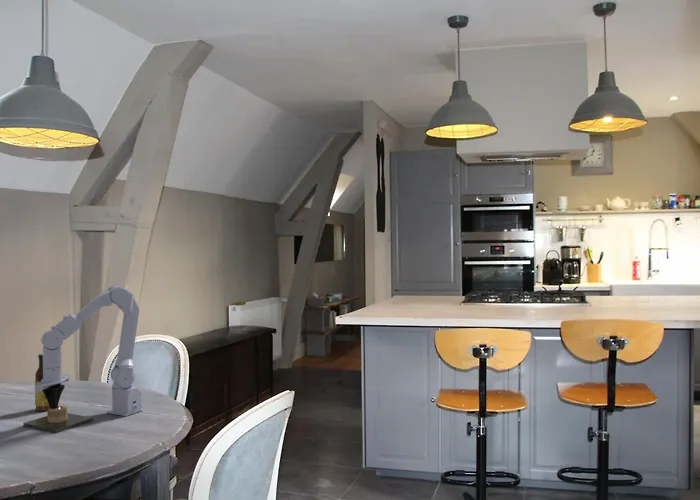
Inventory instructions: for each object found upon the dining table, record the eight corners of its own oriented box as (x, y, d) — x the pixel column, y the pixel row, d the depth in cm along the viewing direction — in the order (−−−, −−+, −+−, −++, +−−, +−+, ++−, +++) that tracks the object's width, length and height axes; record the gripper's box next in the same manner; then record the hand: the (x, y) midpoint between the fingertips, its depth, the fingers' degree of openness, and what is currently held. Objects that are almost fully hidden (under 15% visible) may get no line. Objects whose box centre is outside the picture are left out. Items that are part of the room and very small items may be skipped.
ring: (68, 417, 211) (67, 405, 211) (65, 421, 206) (65, 409, 205) (49, 418, 209) (49, 406, 209) (46, 423, 204) (46, 411, 204)
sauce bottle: (47, 412, 221) (45, 356, 220) (31, 411, 222) (29, 355, 221) (59, 407, 227) (57, 352, 226) (44, 406, 228) (42, 351, 228)
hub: (92, 420, 210) (92, 404, 210) (55, 432, 198) (55, 415, 197) (61, 414, 217) (60, 399, 217) (23, 426, 205) (22, 409, 205)
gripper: (57, 361, 216) (58, 401, 216) (26, 371, 202) (27, 413, 202) (74, 362, 214) (76, 402, 215) (45, 372, 200) (46, 414, 201)
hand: (53, 407), depth 208 cm, fingers closed, pressing on ring
